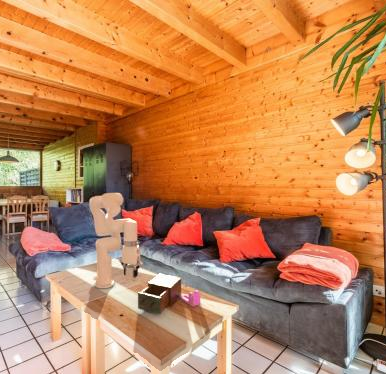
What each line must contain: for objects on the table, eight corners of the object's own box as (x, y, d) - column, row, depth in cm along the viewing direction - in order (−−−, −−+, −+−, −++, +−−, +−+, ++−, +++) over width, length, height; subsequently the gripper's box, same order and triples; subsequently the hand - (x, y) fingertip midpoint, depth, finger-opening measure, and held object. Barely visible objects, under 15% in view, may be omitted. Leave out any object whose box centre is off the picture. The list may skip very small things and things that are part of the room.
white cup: (123, 278, 141) (123, 267, 140) (129, 275, 146) (129, 264, 145) (132, 280, 138) (132, 268, 138) (137, 277, 143) (137, 265, 143)
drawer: (156, 318, 128) (156, 301, 128) (133, 312, 134) (133, 295, 134) (171, 302, 145) (171, 287, 144) (150, 297, 151) (150, 282, 151)
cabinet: (170, 306, 142) (170, 287, 142) (147, 300, 149) (147, 282, 149) (181, 295, 156) (181, 278, 156) (159, 290, 163) (159, 273, 163)
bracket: (200, 304, 145) (200, 291, 145) (192, 306, 142) (193, 294, 142) (185, 295, 156) (185, 284, 156) (178, 297, 153) (178, 286, 152)
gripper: (147, 243, 140) (147, 276, 141) (121, 240, 149) (122, 270, 149) (140, 246, 134) (140, 280, 134) (113, 243, 142) (114, 275, 143)
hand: (130, 275), depth 142 cm, fingers closed on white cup, 5 cm apart
